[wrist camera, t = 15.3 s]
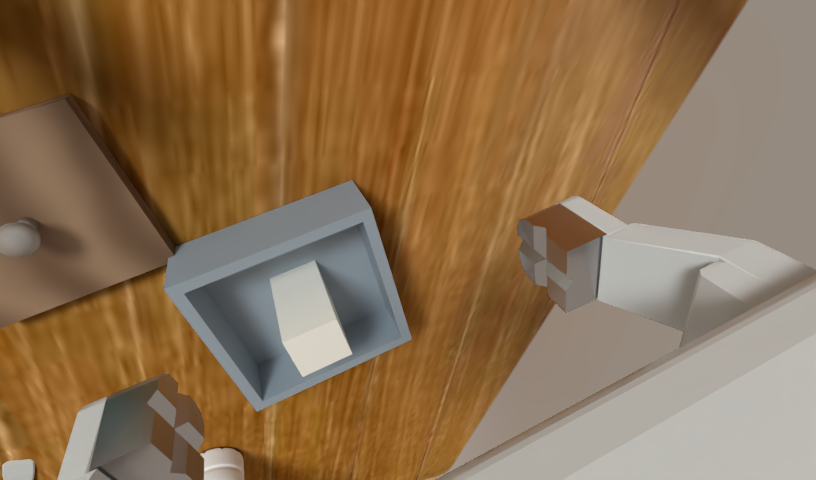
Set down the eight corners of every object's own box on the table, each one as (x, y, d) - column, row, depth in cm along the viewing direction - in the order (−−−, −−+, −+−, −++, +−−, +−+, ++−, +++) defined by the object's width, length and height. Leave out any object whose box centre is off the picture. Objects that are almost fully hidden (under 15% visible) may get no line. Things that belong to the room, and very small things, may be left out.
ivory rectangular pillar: (314, 260, 42) (336, 319, 35) (329, 293, 44) (352, 354, 37) (269, 278, 41) (282, 342, 34) (287, 311, 44) (302, 377, 36)
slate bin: (352, 179, 40) (371, 207, 35) (392, 304, 50) (412, 339, 45) (169, 248, 37) (163, 289, 32) (252, 367, 47) (256, 411, 42)
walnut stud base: (70, 93, 29) (49, 112, 25) (178, 251, 37) (174, 283, 33) (-168, 164, 26) (-232, 197, 22) (5, 317, 35) (-21, 360, 31)
